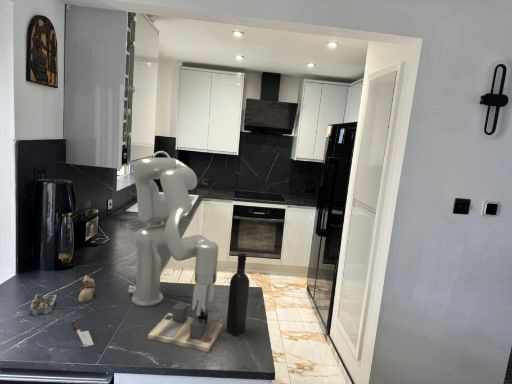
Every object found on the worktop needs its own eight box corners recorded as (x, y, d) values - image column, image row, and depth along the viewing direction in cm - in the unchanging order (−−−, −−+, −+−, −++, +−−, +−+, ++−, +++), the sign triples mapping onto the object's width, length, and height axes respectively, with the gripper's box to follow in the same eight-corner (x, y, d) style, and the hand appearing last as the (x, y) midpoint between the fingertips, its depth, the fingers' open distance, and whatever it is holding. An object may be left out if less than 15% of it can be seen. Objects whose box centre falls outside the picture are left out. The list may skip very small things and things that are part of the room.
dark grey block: (172, 320, 124) (172, 308, 123) (176, 315, 128) (177, 302, 127) (182, 322, 123) (183, 310, 123) (186, 317, 127) (187, 304, 126)
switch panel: (148, 338, 116) (148, 333, 115) (168, 316, 130) (168, 312, 130) (208, 352, 111) (208, 347, 111) (222, 327, 126) (222, 323, 126)
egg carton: (36, 302, 132) (36, 292, 131) (57, 300, 134) (57, 291, 134) (27, 316, 122) (27, 306, 121) (51, 314, 125) (51, 304, 124)
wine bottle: (224, 330, 125) (231, 253, 120) (236, 325, 129) (242, 250, 124) (234, 337, 121) (241, 258, 116) (246, 332, 125) (253, 255, 120)
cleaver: (99, 341, 111) (83, 344, 108) (99, 345, 111) (82, 348, 108) (86, 318, 123) (71, 320, 120) (85, 321, 123) (70, 323, 120)
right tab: (189, 337, 115) (190, 323, 114) (194, 330, 119) (194, 317, 118) (200, 339, 114) (201, 326, 114) (204, 333, 118) (205, 320, 117)
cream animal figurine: (99, 296, 140) (99, 274, 138) (80, 303, 133) (80, 280, 132) (92, 292, 143) (92, 270, 141) (73, 298, 136) (73, 275, 135)
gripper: (203, 266, 126) (199, 312, 129) (187, 283, 111) (183, 333, 114) (222, 270, 124) (218, 315, 127) (208, 287, 110) (204, 338, 113)
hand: (202, 324), depth 121 cm, fingers closed
